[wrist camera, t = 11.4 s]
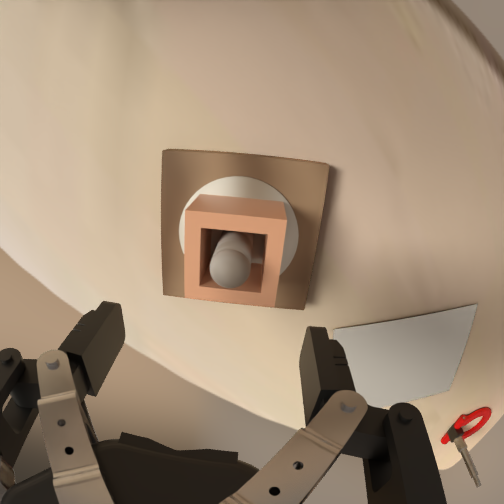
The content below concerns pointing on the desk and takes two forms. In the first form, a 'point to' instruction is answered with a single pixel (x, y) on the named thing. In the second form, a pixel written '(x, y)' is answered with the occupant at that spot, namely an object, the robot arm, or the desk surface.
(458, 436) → the tow hook
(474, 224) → the desk surface
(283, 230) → the collar
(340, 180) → the desk surface
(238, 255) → the post stand
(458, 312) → the grey flat panel
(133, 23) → the desk surface
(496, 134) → the desk surface
